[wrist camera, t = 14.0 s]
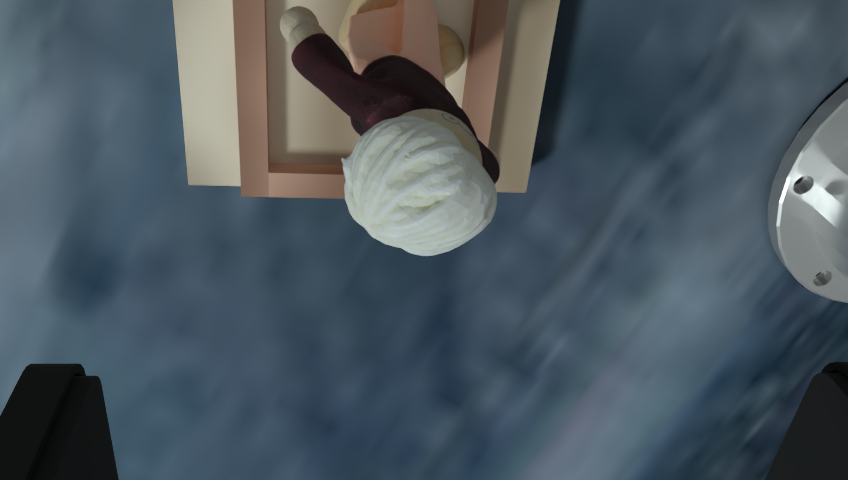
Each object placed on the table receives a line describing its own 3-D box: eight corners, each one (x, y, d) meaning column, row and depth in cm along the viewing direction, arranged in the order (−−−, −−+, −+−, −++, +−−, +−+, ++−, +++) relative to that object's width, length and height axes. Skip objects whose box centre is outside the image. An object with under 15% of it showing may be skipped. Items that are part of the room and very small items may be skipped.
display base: (577, -182, 25) (599, -176, 23) (517, 175, 32) (530, 202, 30) (163, -221, 23) (148, -219, 21) (194, 166, 30) (185, 195, 28)
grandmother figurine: (510, 30, 27) (635, 211, 16) (456, 122, 28) (536, 340, 18) (309, -79, 24) (299, 51, 14) (261, 28, 26) (219, 219, 15)
